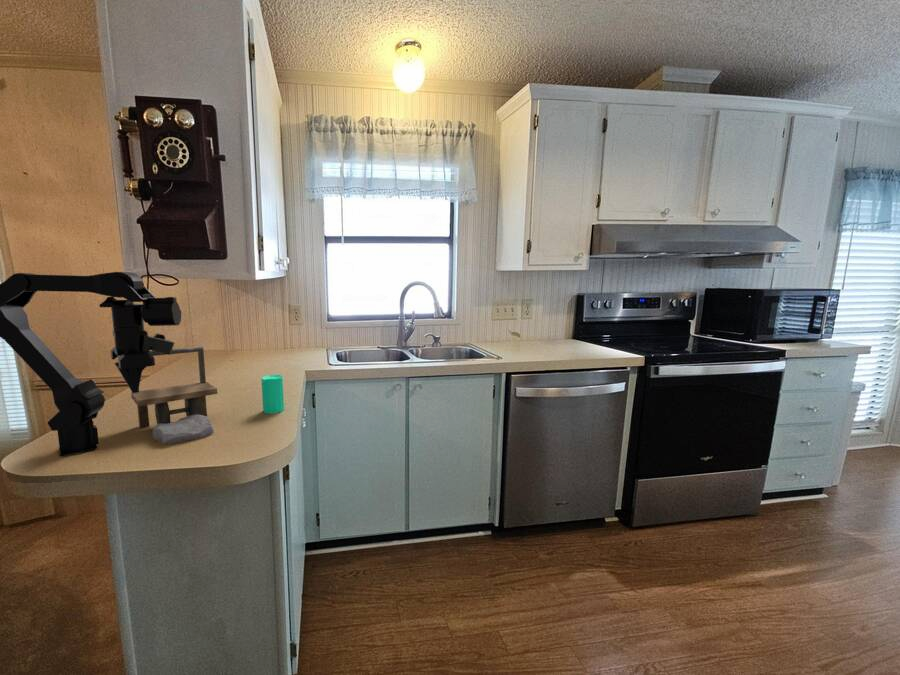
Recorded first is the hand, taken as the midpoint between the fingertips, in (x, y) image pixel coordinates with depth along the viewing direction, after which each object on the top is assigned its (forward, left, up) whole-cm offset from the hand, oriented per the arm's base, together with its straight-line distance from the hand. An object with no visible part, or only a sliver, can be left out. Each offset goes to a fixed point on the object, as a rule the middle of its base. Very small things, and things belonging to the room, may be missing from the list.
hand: (135, 392), depth 101 cm
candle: (+34, +6, -13) cm, 37 cm away
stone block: (+9, -1, -14) cm, 17 cm away
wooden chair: (+10, +11, -13) cm, 20 cm away
